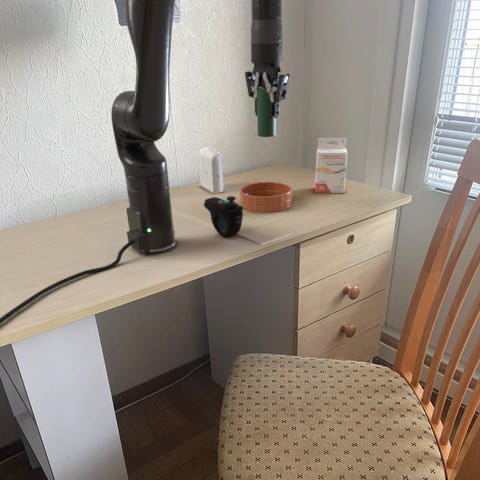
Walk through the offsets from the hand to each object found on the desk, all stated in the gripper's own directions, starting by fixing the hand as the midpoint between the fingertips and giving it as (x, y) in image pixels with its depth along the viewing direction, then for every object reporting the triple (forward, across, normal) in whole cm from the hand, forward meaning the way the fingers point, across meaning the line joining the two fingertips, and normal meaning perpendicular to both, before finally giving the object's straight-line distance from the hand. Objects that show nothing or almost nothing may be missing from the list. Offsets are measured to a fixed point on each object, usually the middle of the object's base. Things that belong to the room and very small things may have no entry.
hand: (266, 116), depth 131 cm
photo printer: (+23, -23, -1) cm, 33 cm away
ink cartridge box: (+23, +4, +22) cm, 32 cm away
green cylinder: (+5, 0, 0) cm, 5 cm away
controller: (+24, +9, -22) cm, 33 cm away
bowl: (+23, 0, 0) cm, 23 cm away
